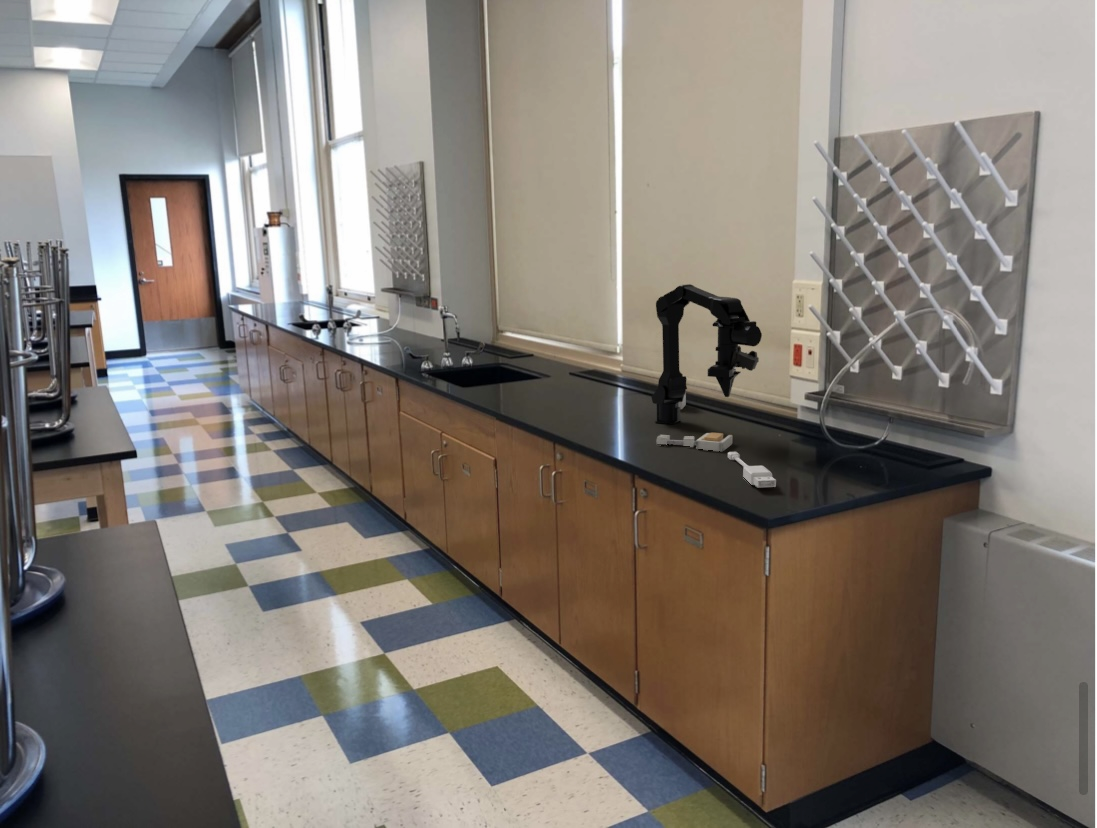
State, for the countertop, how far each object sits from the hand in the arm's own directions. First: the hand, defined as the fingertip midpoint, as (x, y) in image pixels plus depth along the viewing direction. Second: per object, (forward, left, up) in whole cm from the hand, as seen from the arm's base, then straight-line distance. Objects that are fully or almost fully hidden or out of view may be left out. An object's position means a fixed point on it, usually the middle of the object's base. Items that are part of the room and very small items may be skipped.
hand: (727, 396), depth 247 cm
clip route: (-10, -14, -12) cm, 21 cm away
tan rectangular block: (0, -12, -12) cm, 17 cm away
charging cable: (+16, -34, -12) cm, 39 cm away
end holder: (0, -11, -12) cm, 17 cm away
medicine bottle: (-29, +35, -12) cm, 47 cm away
